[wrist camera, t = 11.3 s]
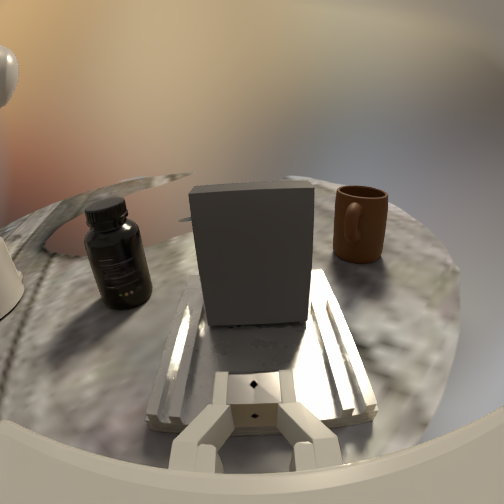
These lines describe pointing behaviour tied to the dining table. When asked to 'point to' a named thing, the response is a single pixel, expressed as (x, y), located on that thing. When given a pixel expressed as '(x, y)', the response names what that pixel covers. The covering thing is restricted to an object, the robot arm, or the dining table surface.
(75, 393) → the dining table surface
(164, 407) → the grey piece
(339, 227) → the mug
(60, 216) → the dining table surface
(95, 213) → the supplement bottle
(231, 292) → the gray rectangular block
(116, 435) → the dining table surface
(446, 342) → the dining table surface
